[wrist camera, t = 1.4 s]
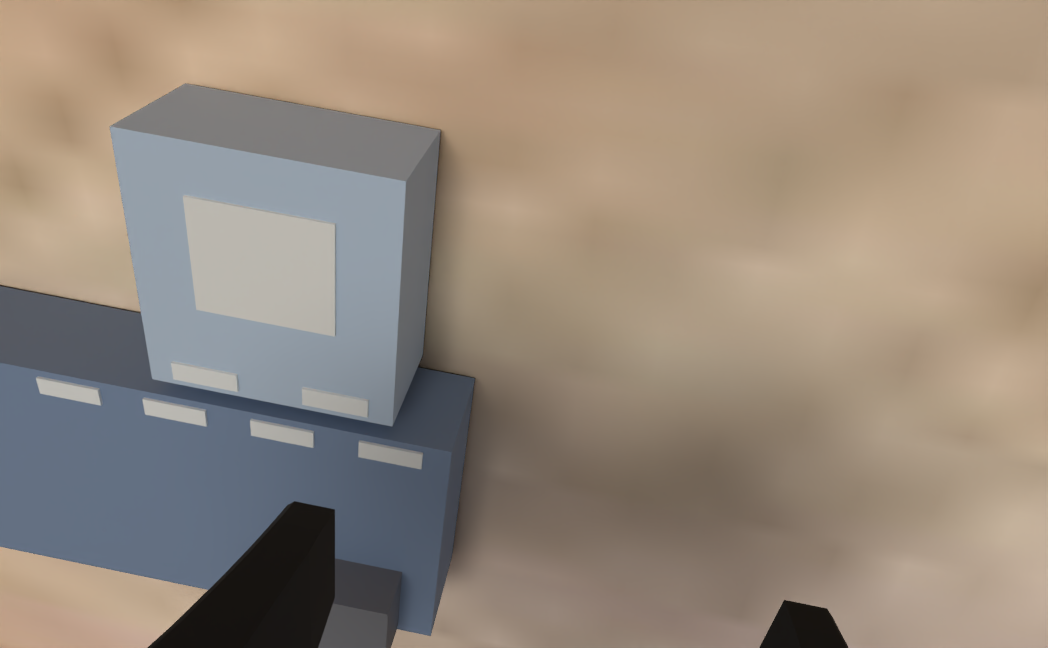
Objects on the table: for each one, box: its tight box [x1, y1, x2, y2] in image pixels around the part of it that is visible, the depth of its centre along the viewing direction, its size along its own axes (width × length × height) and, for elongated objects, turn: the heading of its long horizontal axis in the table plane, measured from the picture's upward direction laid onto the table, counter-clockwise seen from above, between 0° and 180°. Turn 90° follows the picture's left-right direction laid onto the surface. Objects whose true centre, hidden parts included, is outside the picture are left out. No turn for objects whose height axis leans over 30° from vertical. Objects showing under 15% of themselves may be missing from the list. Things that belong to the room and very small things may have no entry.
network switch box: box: [0, 286, 475, 648], centre depth 22 cm, size 14×8×4 cm, turn 82°
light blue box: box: [110, 83, 441, 427], centre depth 18 cm, size 6×6×3 cm
